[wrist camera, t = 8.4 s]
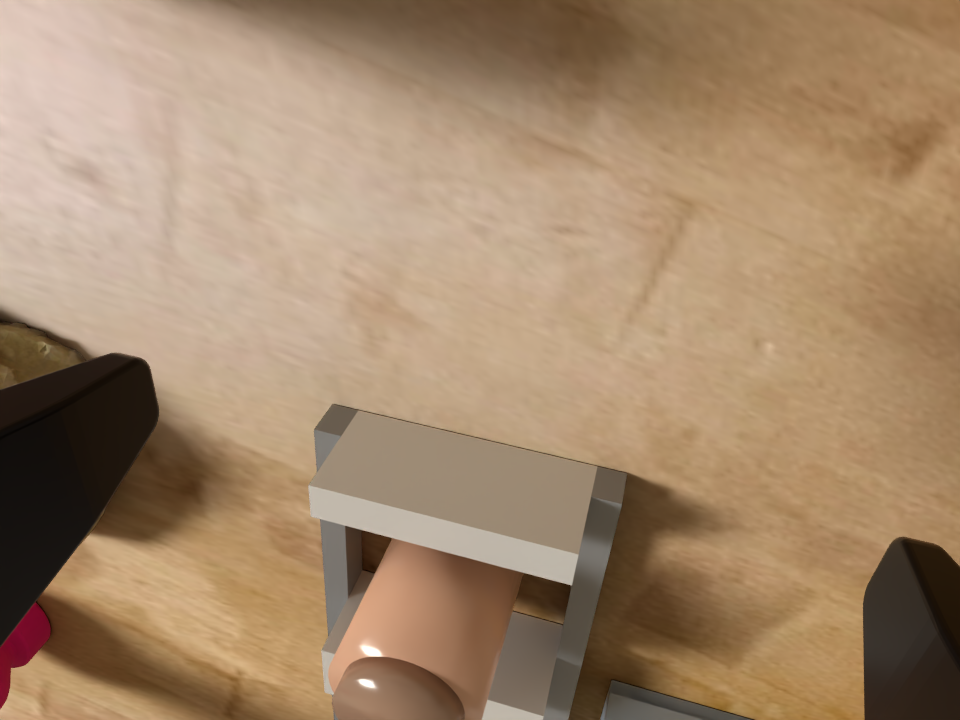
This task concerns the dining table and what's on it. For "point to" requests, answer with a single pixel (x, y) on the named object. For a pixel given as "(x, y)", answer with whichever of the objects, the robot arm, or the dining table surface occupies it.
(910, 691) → the robot arm
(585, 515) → the caddy
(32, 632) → the pepper mill
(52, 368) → the pastry
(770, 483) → the dining table surface
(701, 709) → the tray
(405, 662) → the jar
